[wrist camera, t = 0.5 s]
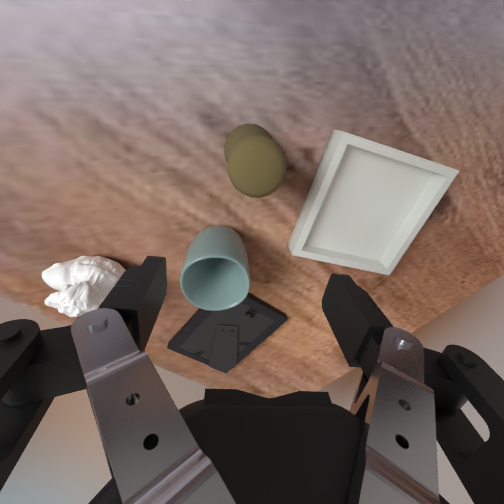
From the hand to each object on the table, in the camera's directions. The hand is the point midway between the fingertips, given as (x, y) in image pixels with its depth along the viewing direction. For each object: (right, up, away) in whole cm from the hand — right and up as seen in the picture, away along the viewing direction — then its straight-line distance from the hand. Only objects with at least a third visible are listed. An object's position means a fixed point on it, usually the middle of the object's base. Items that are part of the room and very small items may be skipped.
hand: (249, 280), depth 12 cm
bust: (-21, -1, +24) cm, 32 cm away
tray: (+15, +8, +23) cm, 28 cm away
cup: (-5, +3, +24) cm, 24 cm away
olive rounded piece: (0, +14, +18) cm, 22 cm away
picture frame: (-5, -12, +33) cm, 36 cm away
